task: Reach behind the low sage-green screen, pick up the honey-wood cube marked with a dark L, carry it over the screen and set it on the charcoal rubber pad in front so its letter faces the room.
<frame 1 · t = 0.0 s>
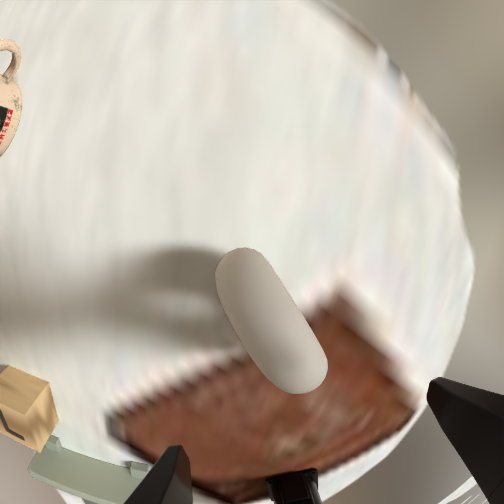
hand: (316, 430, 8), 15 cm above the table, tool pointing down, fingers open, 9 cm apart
teacup with lid: (3, 110, 17), on the table
donut: (261, 292, 23), on the table
sage screen: (97, 463, 25), on the table
marked cube: (33, 393, 23), on the table
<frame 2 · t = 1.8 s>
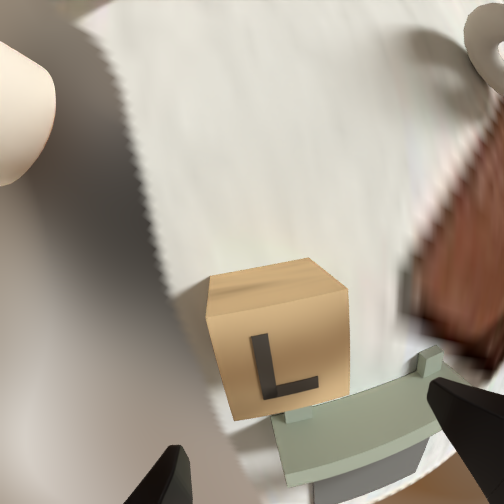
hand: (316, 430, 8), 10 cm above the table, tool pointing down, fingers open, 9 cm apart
charcoal pad: (373, 464, 23), on the table
donut: (476, 68, 16), on the table
sage screen: (366, 398, 21), on the table
marked cube: (267, 311, 18), on the table
white bottle: (16, 125, 14), on the table
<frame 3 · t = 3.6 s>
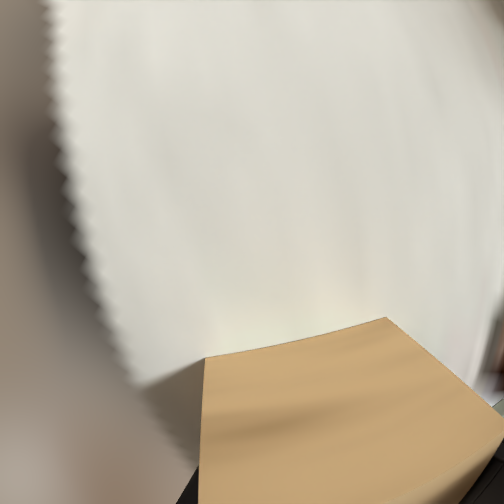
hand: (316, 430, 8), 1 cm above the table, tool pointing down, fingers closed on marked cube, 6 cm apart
marked cube: (307, 407, 9), on the table, touching gripper
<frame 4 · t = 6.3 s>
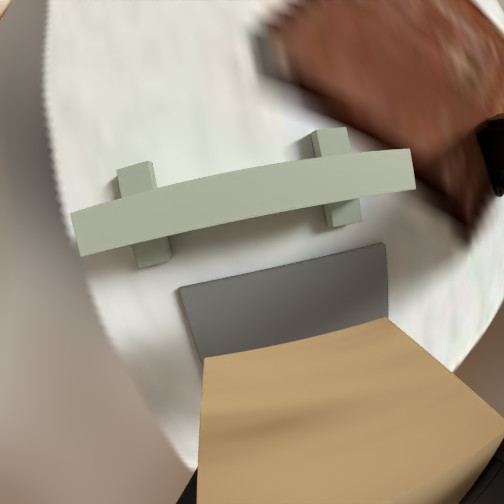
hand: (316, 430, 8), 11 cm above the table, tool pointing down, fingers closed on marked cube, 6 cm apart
charcoal pad: (301, 354, 20), on the table
sage screen: (241, 192, 18), on the table
marked cube: (307, 407, 9), point 10 cm above the table, touching gripper
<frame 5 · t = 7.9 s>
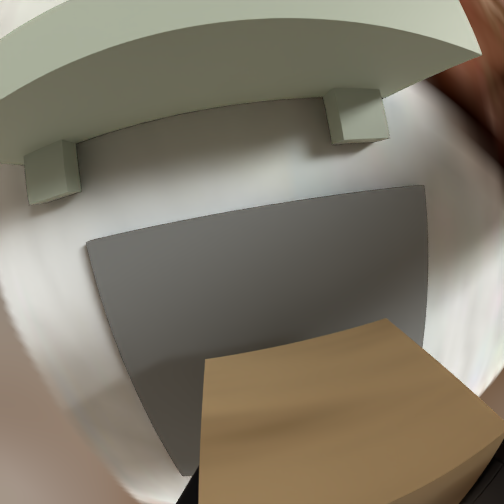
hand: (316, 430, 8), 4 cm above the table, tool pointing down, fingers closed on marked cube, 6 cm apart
charcoal pad: (288, 364, 12), on the table
sage screen: (191, 87, 10), on the table
marked cube: (307, 408, 9), point 3 cm above the table, touching gripper
when the fingers open (3 cm above the table, at t = 9.0 s): marked cube drops 1 cm, resting on charcoal pad.
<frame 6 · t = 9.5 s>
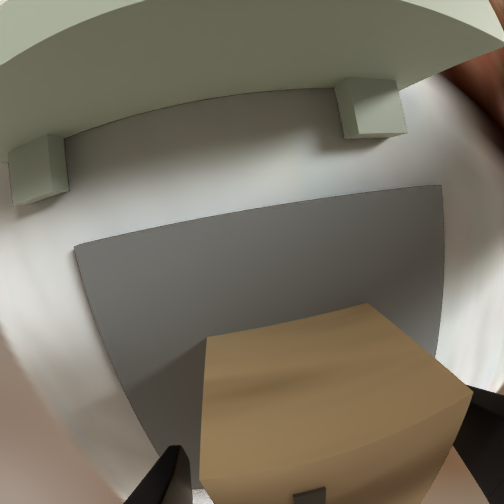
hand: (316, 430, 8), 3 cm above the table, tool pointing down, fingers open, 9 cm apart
charcoal pad: (295, 378, 11), on the table
sage screen: (189, 76, 9), on the table
marked cube: (298, 385, 11), resting on charcoal pad
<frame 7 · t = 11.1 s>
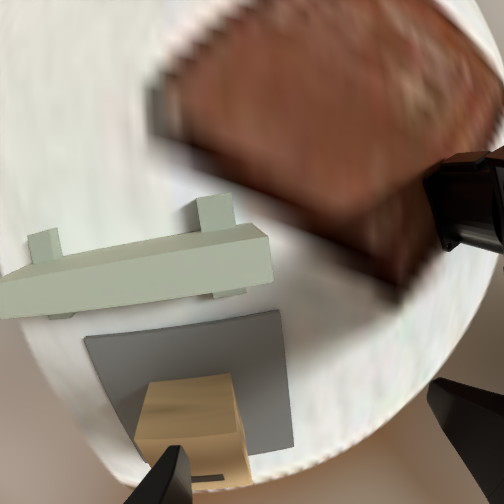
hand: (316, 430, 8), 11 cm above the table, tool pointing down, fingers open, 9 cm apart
charcoal pad: (198, 404, 20), on the table
sage screen: (129, 259, 17), on the table
marked cube: (198, 408, 20), resting on charcoal pad
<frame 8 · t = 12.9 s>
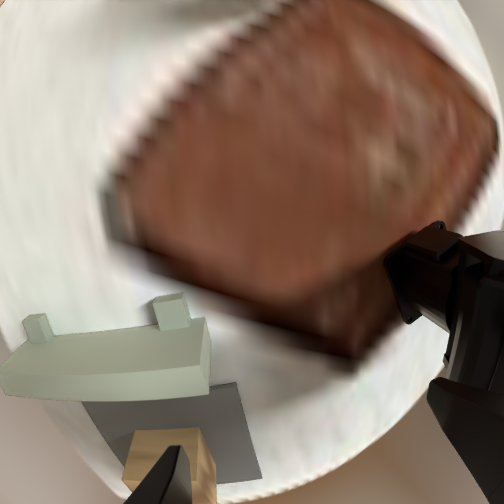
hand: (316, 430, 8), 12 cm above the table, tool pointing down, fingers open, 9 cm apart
charcoal pad: (176, 445, 22), on the table
sage screen: (107, 342, 19), on the table
marked cube: (176, 449, 22), resting on charcoal pad
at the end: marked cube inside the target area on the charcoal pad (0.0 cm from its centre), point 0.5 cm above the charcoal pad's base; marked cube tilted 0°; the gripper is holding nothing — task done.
